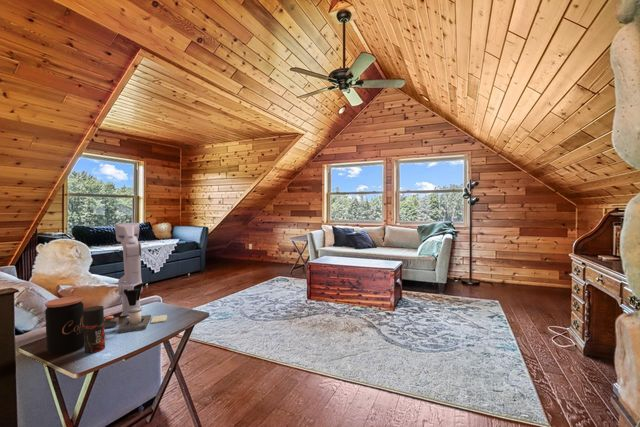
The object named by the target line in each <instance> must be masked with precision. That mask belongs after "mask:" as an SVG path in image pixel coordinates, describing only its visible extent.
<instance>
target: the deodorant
mask: <svg viewBox="0 0 640 427" xmlns="http://www.w3.org/2000/svg"><path fill="white" fill-rule="evenodd" d="M104 314H105V310H104V306H103V305H95V306H89V307H87V308H84V310H83V323H84V345H83V346H84V353H85V354H95V353H99V352H102V351H104V349H106V338H105V336H106V335H105V328H104V319H105V315H104Z"/></svg>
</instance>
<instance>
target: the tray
mask: <svg viewBox="0 0 640 427" xmlns="http://www.w3.org/2000/svg"><path fill="white" fill-rule="evenodd" d="M167 315H168V314H161V315H154V316H152V317H151V320H150V324H157V323H158V324H159V323H164V321H165V322H167V319H168V316H167Z"/></svg>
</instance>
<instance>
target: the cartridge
mask: <svg viewBox="0 0 640 427" xmlns="http://www.w3.org/2000/svg"><path fill="white" fill-rule="evenodd" d="M128 312H129V315H128V318H129V325H131V324H138V323H142V322H141V316H142V310H141V306H140V307H136V308H131V309H129V310H128Z"/></svg>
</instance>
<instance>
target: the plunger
mask: <svg viewBox="0 0 640 427" xmlns="http://www.w3.org/2000/svg"><path fill="white" fill-rule="evenodd" d="M113 318H115V317H114V315H107V316H104V319H105V322H108V321H113Z"/></svg>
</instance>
